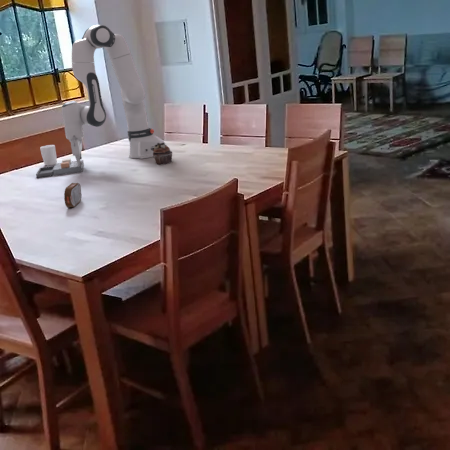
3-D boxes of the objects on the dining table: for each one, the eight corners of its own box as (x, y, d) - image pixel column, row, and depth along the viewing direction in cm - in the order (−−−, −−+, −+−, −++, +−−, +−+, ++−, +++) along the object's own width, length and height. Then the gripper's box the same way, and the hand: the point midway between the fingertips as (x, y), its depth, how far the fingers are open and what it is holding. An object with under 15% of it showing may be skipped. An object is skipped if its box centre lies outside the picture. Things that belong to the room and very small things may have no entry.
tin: (77, 200, 268) (73, 180, 266) (84, 199, 268) (80, 179, 265) (65, 210, 254) (61, 190, 252) (73, 209, 254) (69, 189, 251)
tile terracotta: (70, 165, 327) (69, 161, 326) (69, 166, 323) (68, 163, 322) (62, 166, 326) (61, 162, 326) (61, 168, 322) (60, 164, 322)
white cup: (60, 162, 355) (56, 144, 352) (55, 165, 347) (51, 147, 344) (46, 163, 356) (43, 145, 353) (41, 166, 348) (37, 148, 345)
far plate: (84, 165, 338) (83, 159, 337) (82, 171, 322) (81, 166, 322) (57, 169, 336) (56, 163, 335) (54, 175, 321) (52, 169, 320)
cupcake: (172, 163, 317) (169, 143, 313) (153, 165, 317) (150, 145, 314) (174, 159, 326) (171, 140, 323) (155, 161, 326) (152, 142, 323)
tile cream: (71, 162, 334) (70, 158, 334) (70, 163, 330) (69, 159, 330) (63, 163, 334) (62, 159, 333) (62, 164, 330) (62, 161, 329)
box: (56, 169, 336) (55, 165, 335) (53, 175, 321) (52, 172, 320) (40, 171, 335) (39, 167, 334) (36, 178, 320) (36, 174, 319)
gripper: (79, 136, 315) (84, 164, 319) (82, 130, 334) (86, 156, 339) (66, 138, 314) (71, 165, 318) (69, 132, 334) (74, 158, 338)
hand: (79, 161), depth 329 cm, fingers open, 8 cm apart
